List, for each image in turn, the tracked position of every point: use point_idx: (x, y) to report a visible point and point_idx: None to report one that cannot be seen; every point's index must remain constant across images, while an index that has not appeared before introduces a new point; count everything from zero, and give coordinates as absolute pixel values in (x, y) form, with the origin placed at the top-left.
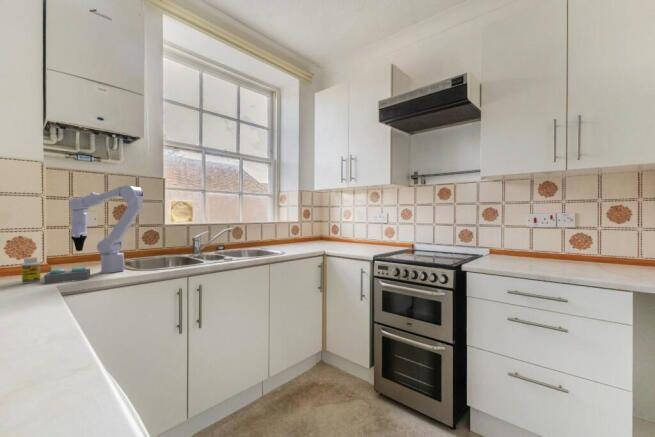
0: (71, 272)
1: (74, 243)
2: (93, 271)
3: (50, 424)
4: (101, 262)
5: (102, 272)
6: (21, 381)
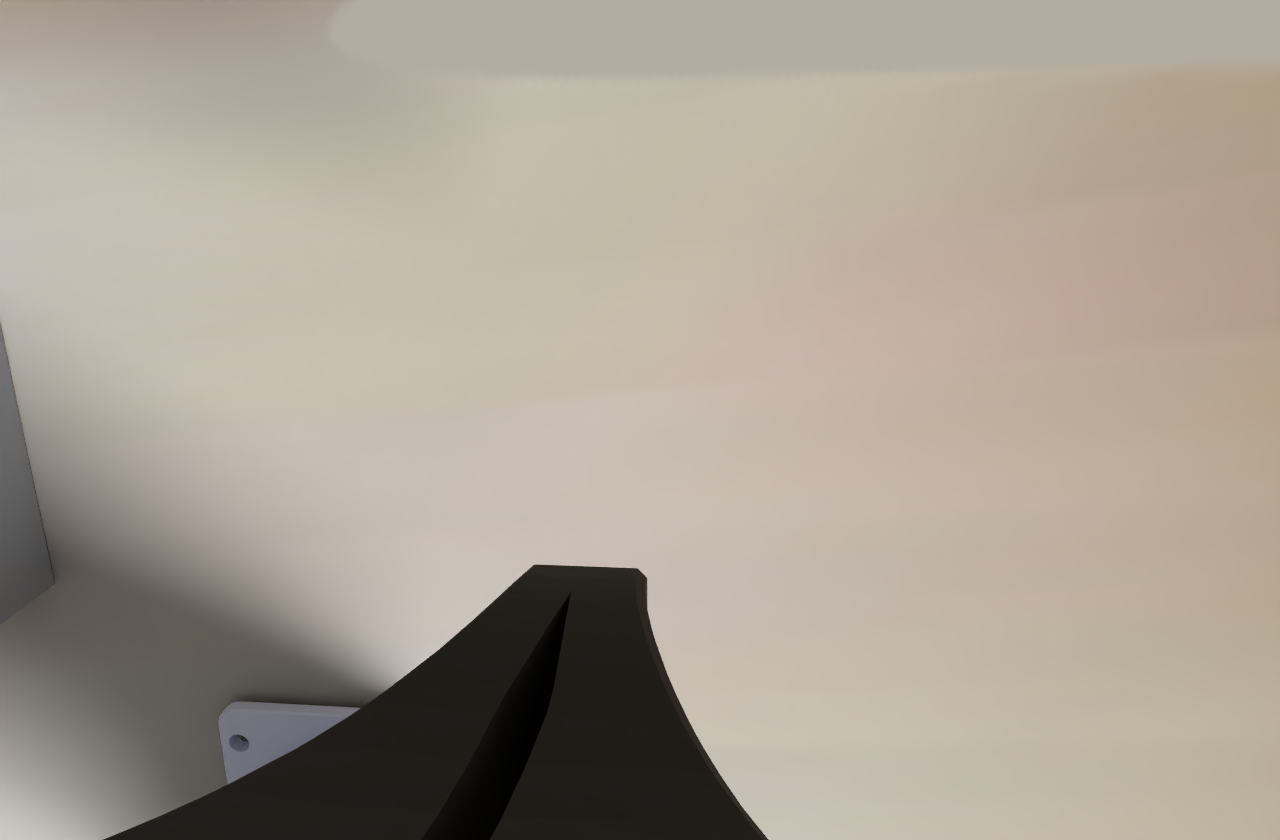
0: None
1: (323, 734)
2: None
3: None
4: None
5: (225, 744)
6: None
